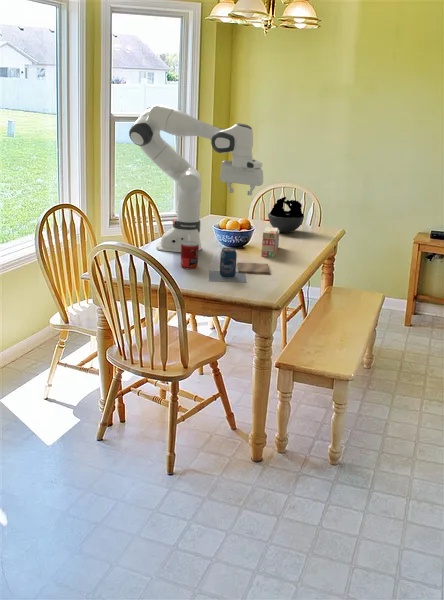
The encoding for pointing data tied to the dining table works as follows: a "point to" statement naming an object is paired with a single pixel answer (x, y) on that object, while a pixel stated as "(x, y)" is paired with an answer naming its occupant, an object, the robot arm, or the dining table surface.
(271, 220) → the coal bowl
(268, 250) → the stack of blocks
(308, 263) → the dining table surface
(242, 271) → the walnut coaster
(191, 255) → the canned food
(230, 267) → the soda can
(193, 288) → the dining table surface
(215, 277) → the blue gray card
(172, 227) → the robot arm
